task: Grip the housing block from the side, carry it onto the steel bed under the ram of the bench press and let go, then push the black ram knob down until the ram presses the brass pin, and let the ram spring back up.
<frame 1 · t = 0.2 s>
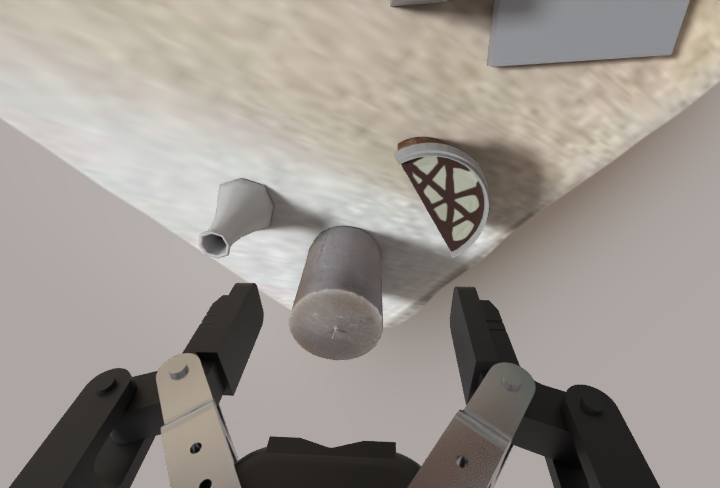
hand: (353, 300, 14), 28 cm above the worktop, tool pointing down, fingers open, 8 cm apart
pillar candle: (346, 254, 47), on the worktop
flask: (246, 204, 44), on the worktop
food container: (440, 164, 40), on the worktop
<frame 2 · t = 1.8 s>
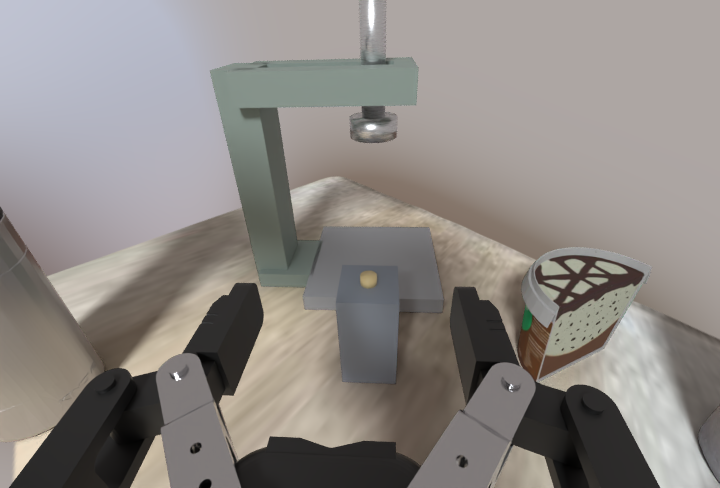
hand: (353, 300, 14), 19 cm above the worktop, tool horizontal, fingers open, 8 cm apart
press ram: (372, 51, 33), point 26 cm above the worktop, slide at 0.0 cm
housing block: (370, 360, 35), on the worktop
bench press: (374, 269, 47), on the worktop
food container: (544, 344, 36), on the worktop
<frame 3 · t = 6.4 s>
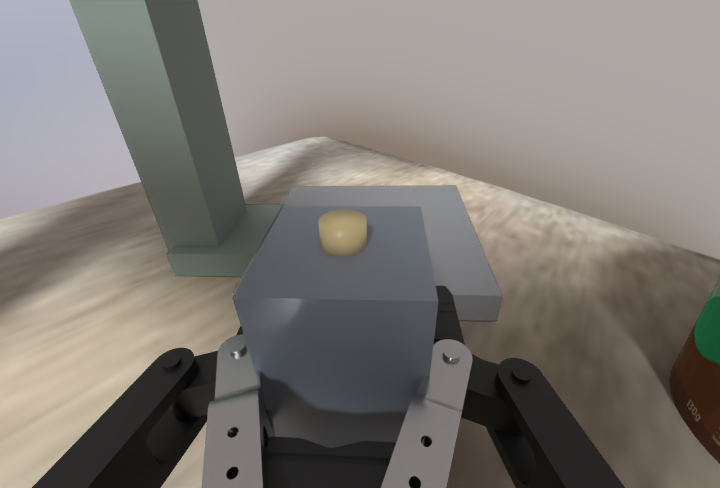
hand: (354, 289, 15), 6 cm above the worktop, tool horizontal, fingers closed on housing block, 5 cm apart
housing block: (356, 428, 16), on the worktop, touching gripper
bench press: (370, 247, 28), on the worktop
when the fingers open (9 cm above the worktop, at t = 11.3 s): housing block stays where it is, resting on bench press.
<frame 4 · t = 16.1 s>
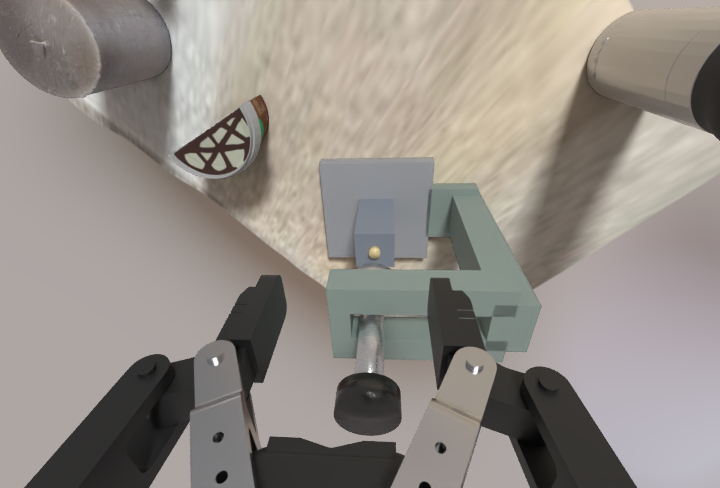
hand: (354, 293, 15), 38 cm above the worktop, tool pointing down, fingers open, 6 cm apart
press ram: (371, 334, 32), point 26 cm above the worktop, slide at 0.0 cm
pillar candle: (135, 36, 44), on the worktop
housing block: (376, 213, 52), point 2 cm above the worktop, touching bench press
bench press: (376, 208, 54), on the worktop
food container: (248, 132, 49), on the worktop
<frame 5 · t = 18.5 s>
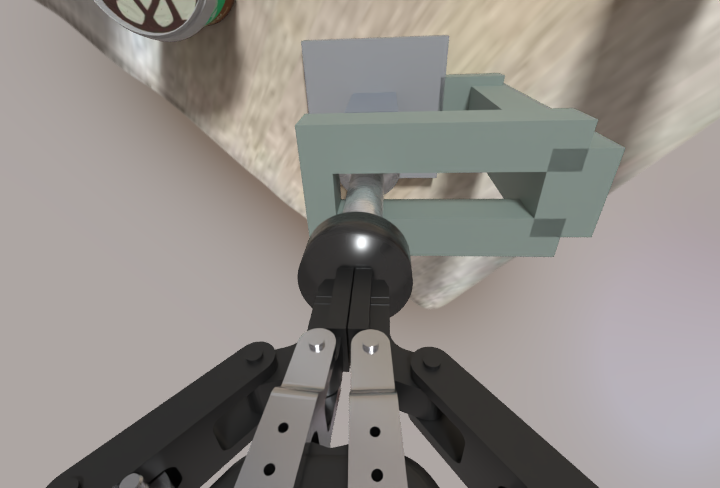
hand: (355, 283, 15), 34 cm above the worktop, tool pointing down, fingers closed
press ram: (364, 202, 22), point 26 cm above the worktop, slide at 0.1 cm, touching gripper
housing block: (374, 115, 42), point 2 cm above the worktop, touching bench press
bench press: (375, 111, 44), on the worktop
food container: (211, 1, 39), on the worktop
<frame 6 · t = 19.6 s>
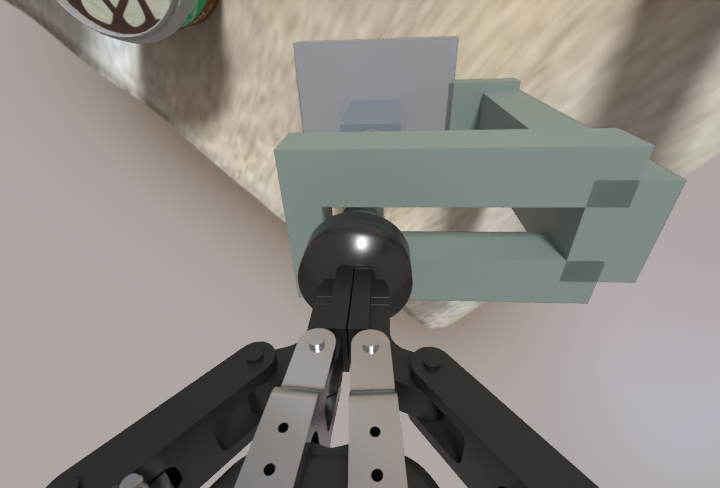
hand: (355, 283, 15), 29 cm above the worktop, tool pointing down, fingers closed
press ram: (365, 202, 22), point 21 cm above the worktop, slide at 4.8 cm, touching gripper
housing block: (375, 124, 38), point 2 cm above the worktop, touching bench press
bench press: (375, 120, 40), on the worktop
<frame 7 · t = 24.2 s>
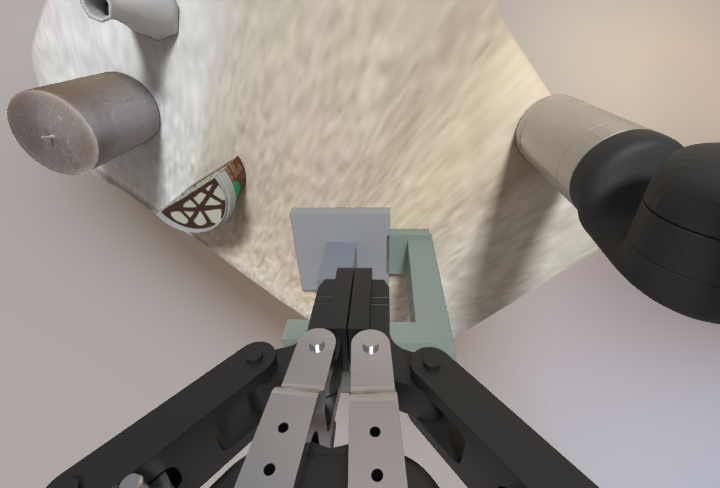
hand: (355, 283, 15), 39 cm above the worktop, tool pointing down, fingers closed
press ram: (320, 371, 40), point 26 cm above the worktop, slide at 0.5 cm
pillar candle: (129, 108, 51), on the worktop
housing block: (342, 254, 59), point 2 cm above the worktop, touching bench press
flask: (152, 6, 44), on the worktop
bench press: (343, 248, 61), on the worktop
food container: (228, 185, 56), on the worktop
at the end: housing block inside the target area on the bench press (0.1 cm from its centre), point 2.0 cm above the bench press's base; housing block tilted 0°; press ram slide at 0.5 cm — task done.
